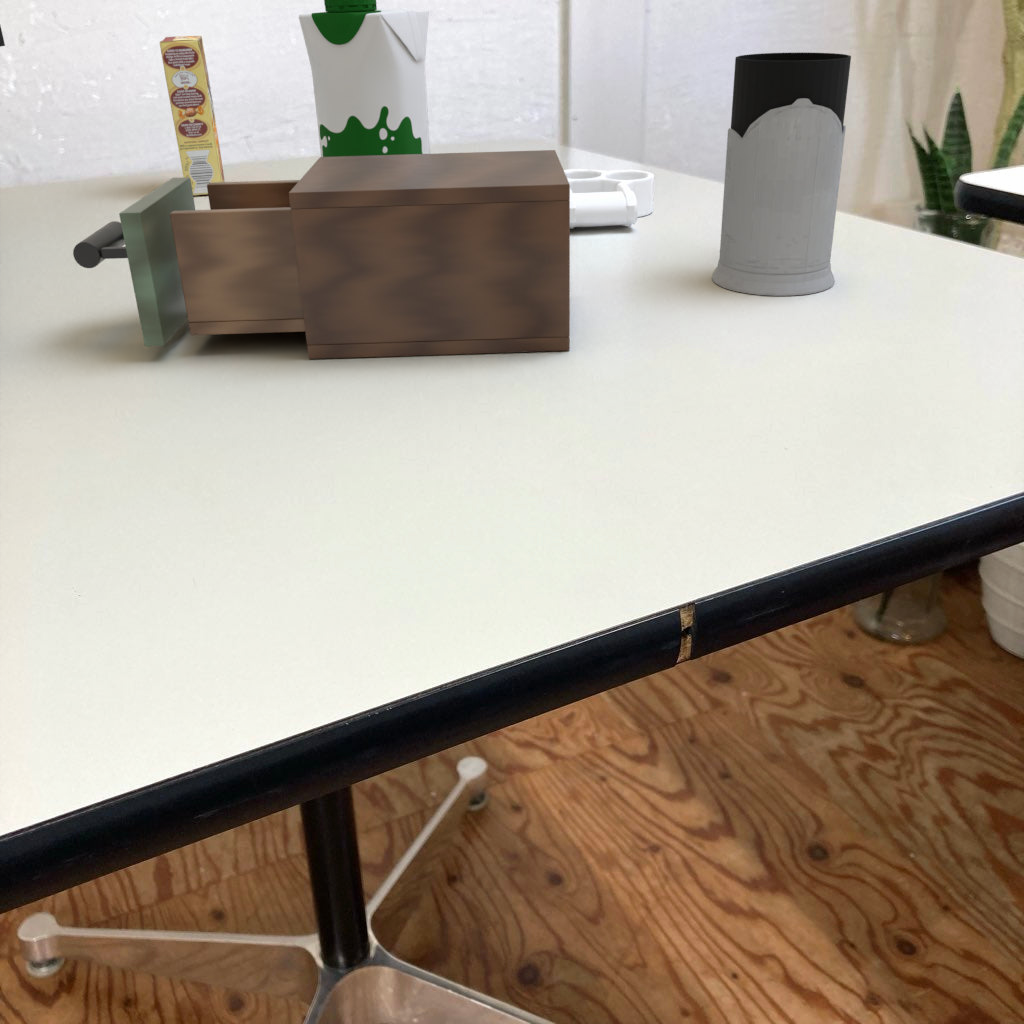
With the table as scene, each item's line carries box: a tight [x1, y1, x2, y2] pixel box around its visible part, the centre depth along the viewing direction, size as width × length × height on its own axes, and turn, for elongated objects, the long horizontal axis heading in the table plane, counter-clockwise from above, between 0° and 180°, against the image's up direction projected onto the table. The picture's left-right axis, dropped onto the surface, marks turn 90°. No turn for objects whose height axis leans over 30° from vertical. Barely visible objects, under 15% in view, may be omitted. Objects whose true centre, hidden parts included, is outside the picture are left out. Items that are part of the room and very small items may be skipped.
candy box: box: [159, 35, 225, 197], centre depth 112 cm, size 9×4×15 cm, turn 14°
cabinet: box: [289, 149, 571, 360], centre depth 66 cm, size 16×13×10 cm
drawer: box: [72, 177, 305, 347], centre depth 66 cm, size 19×12×8 cm, turn 92°
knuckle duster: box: [563, 168, 655, 229], centre depth 96 cm, size 3×18×15 cm
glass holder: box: [711, 52, 852, 297], centre depth 75 cm, size 9×14×15 cm, turn 179°
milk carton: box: [298, 0, 431, 157], centre depth 87 cm, size 9×9×20 cm
